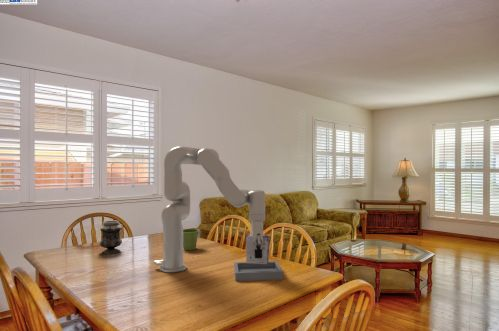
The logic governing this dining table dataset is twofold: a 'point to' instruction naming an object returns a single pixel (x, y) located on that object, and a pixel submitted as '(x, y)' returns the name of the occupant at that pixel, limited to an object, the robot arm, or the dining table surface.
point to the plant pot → (190, 238)
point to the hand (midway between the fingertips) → (257, 255)
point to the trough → (257, 271)
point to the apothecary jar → (110, 236)
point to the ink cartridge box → (251, 251)
